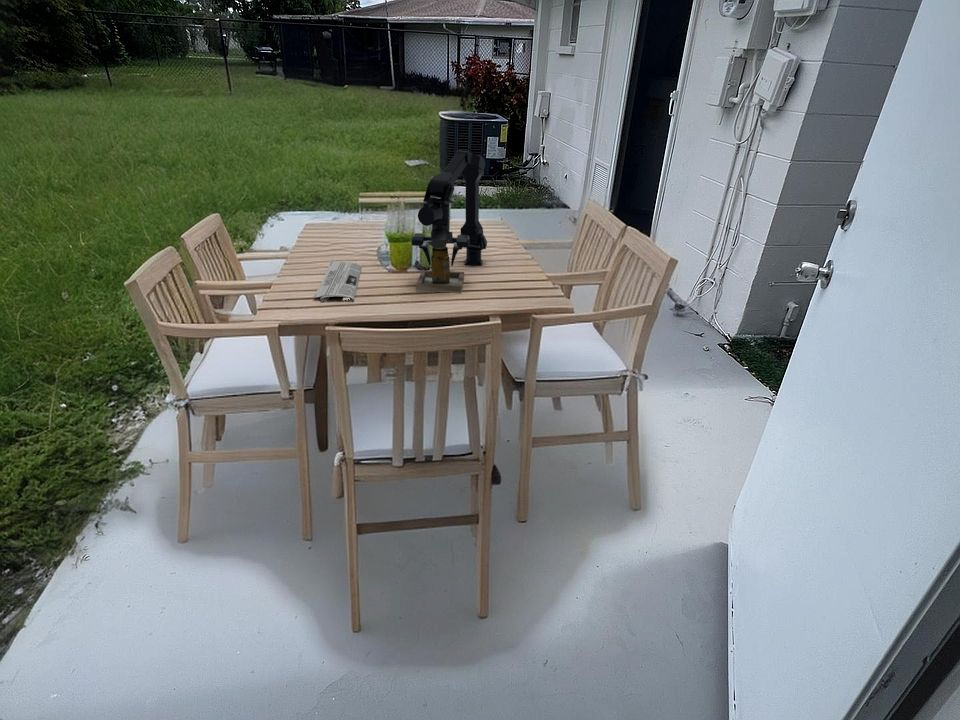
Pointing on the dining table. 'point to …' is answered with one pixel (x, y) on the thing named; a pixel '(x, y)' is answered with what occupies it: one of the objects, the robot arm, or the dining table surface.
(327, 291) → the newspaper
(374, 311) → the dining table surface
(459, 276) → the holder tray
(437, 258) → the condiment
